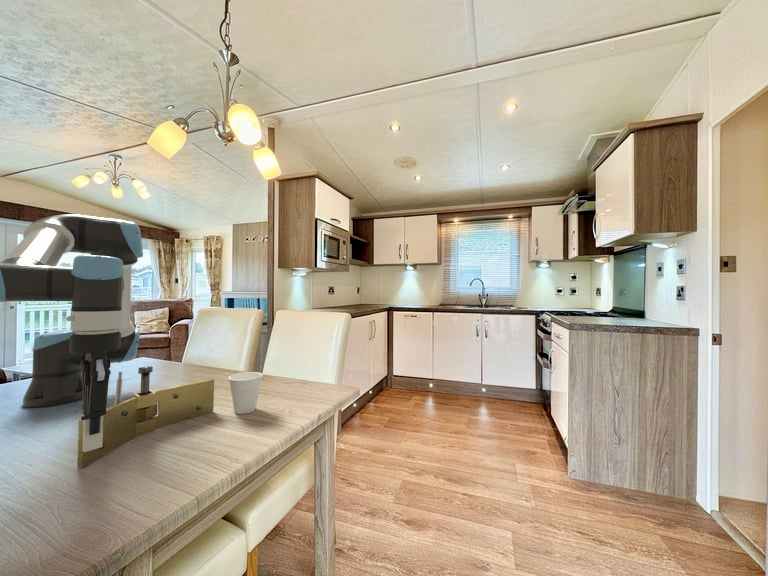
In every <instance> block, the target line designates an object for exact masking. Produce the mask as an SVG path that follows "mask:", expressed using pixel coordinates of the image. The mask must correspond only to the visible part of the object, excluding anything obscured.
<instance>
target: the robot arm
mask: <svg viewBox="0 0 768 576" xmlns="http://www.w3.org/2000/svg"><path fill="white" fill-rule="evenodd" d="M22 236H23V239H22V240H21V241H20V242H19V243H18V244H17V245H16V246H15V247H14V248H13V249H12V250H11V252H9V254H7V255H6V257H5V258H4V259H3V260H2V261H1V262H0V303H5V302H71V309H70V311H71V313H70V314H71V315H70V316H69V315H68V316H66V319H65V321H67V322H70V329H63V330H56V331H52V332H51V331H50V332H46V333H41V334H39V335H37V336H36V337H35V338H34V341H33V348H32V374H31V382H30V383H29V386H28V388H27V390H26V391H25V393H24V396H23V397H22V407H26V408H44V407H51V406H58V405H63V404H67V403H71V402H76V401H79V400H82V405H81V409H82V411H83V412H82V413H83V416H80V420H81V421H82V420H84V424H83V452H87V451H90V450H94V449H97V448H100V447H102V443H103V415H105V414H106V409H107V406H108V405H107V403H108V402H107V401H108V393H109V391H108V390H109V381H110V376H111V373H112V372H111V364H115V363H119V364H120V363H123V362H130V361H132V360H134V359H135V358H136V356H137V353H138V348H139V342H140V335H141V334H140V333H141V332H140V329H136V327H135V325H134V324H133V323H132V322H131V302H132V301H131V298H132V297H131V296H132V294H131V293H132V266H133V265H135V264H136V263H138V261H139V260H138V258H139V259H140V258H143V257H144V249H143V240H142V234H141V229H140V225H139V224H137V223H136V222H134V221H127V220H123V219H119V218H118V219H116V218H109V217H108V218H107V217H98V216H92V215H91V216H90V215H82V214H76V213H72V214H71V213H69V214H66V213H64V214H57V215H51V216H47V217H44V218H39V219H38V220H36V221H33V222H32V223H31V224H28V226H27V227H26V228H25V229H24V230H23V235H22ZM66 253H78V254H79V253H80V254H81V255H77V256H75V257H74V258H73V262H72V266H57V265H58V263H59V262H60V261H61V259H62V256H63V255H64V254H66ZM82 254H83V255H82ZM88 254H89V255H88Z"/></svg>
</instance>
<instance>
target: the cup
mask: <svg viewBox="0 0 768 576" xmlns="http://www.w3.org/2000/svg"><path fill="white" fill-rule="evenodd" d="M263 376H264V374H263V373H262V372H257V371H245V372H238V373H234V374H231V375H229V376H228V380H229V384H230V385H229V386H230V391H231V392H230V393H231V397H232V404H233V411H234V413H235V414H237V415H246V414H247V415H248V414H251V413H253V412H254V411H255V410H256V409H257V404H258V398H259V394H260V389H261V384H262V379H263Z"/></svg>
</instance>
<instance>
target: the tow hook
mask: <svg viewBox="0 0 768 576" xmlns="http://www.w3.org/2000/svg"><path fill="white" fill-rule="evenodd" d="M122 376H123V372H122V371H118V377H117V380H116V390H115V398H114V401H113V402H114V403H113V406H114V405H117V404H119V403H121V402H123V401H122V400H123V398H122V388H123V387H122V386H123V377H122Z"/></svg>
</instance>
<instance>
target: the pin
mask: <svg viewBox="0 0 768 576" xmlns="http://www.w3.org/2000/svg"><path fill="white" fill-rule="evenodd" d="M153 371H154V368H153V366H152V365H151V366H150V365H149V366H141V367H138V374H139V375H140V392H141V395H146V394H149V390H150V377H151V376H150V375H151V373H153ZM141 395H140V396H141ZM145 408H148V407H145Z"/></svg>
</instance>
